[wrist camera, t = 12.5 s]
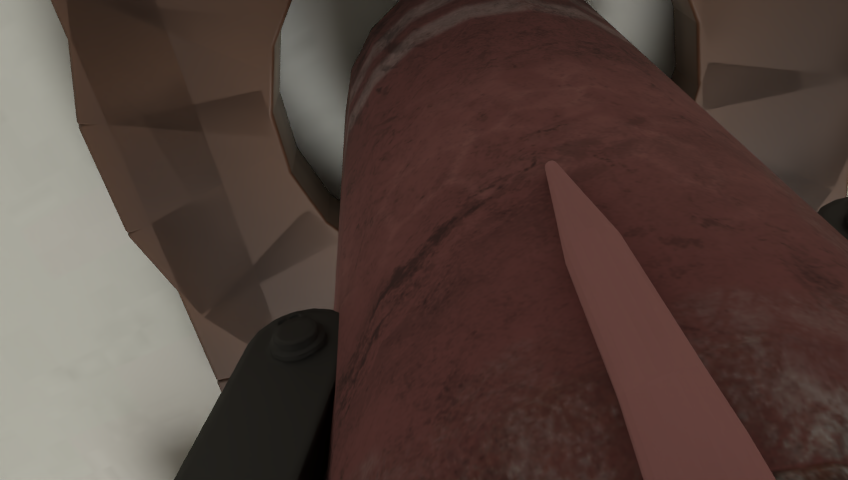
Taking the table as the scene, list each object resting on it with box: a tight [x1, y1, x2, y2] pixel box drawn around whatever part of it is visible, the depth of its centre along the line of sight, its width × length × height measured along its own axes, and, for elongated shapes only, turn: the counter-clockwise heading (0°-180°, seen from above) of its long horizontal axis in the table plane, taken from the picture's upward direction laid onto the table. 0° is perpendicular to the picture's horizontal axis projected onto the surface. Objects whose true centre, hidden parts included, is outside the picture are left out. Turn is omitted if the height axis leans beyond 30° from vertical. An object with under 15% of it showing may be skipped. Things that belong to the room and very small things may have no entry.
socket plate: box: [51, 0, 848, 392], centre depth 17 cm, size 17×17×2 cm
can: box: [323, 0, 848, 480], centre depth 11 cm, size 6×6×14 cm
